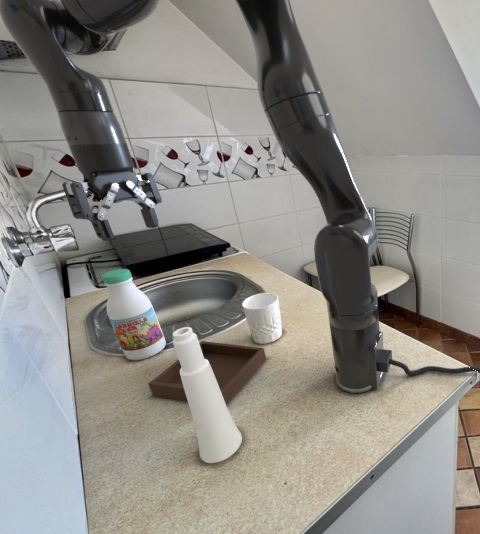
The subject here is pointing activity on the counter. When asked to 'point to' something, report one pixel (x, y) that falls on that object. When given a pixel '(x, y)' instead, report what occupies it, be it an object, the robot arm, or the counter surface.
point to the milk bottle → (132, 316)
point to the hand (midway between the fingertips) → (132, 233)
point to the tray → (214, 370)
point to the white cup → (263, 317)
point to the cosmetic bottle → (205, 400)
